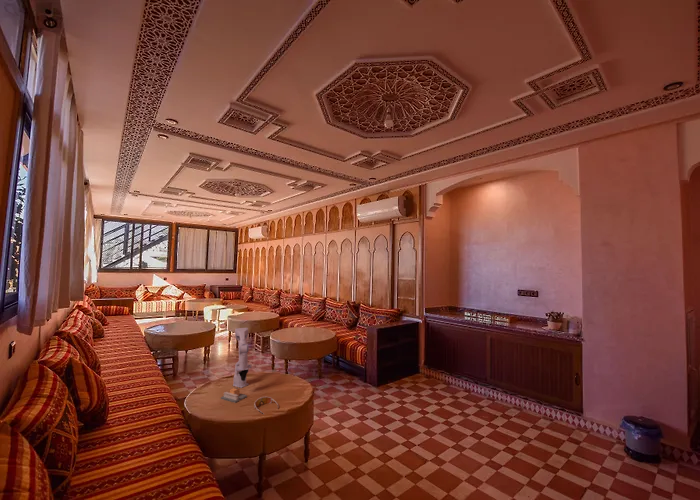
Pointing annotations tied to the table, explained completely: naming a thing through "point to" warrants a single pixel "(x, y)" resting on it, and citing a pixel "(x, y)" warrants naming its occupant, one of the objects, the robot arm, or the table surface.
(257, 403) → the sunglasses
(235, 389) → the block
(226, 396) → the board
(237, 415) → the table surface
